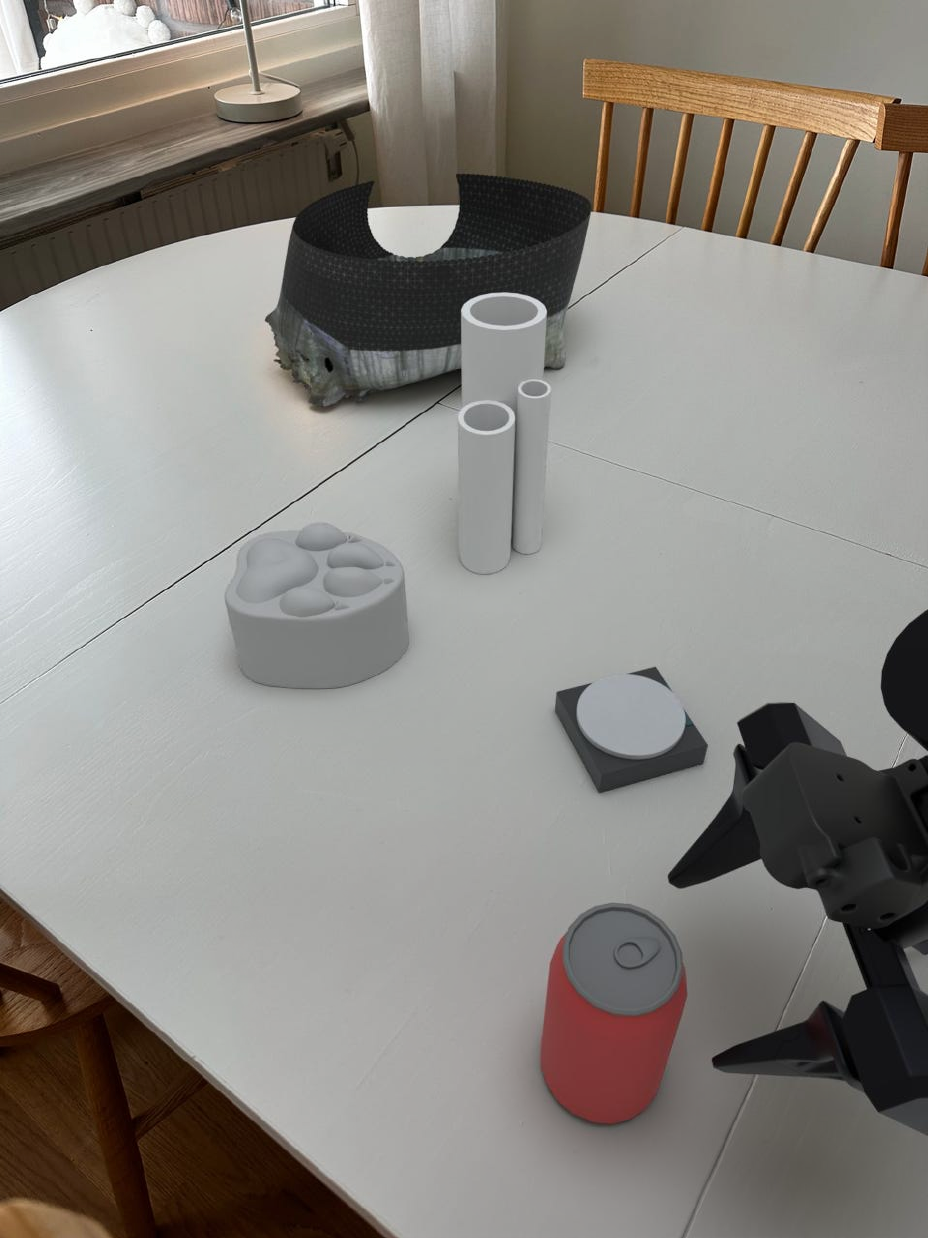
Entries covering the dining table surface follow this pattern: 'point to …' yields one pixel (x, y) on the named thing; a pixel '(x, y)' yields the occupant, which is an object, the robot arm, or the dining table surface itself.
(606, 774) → the scale
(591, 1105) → the beer can
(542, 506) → the vase
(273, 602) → the lumpy-topped squat cylinder
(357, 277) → the basket
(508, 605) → the dining table surface
